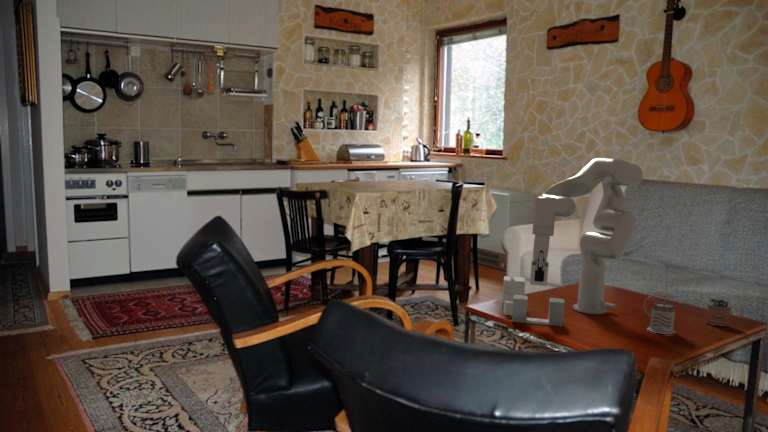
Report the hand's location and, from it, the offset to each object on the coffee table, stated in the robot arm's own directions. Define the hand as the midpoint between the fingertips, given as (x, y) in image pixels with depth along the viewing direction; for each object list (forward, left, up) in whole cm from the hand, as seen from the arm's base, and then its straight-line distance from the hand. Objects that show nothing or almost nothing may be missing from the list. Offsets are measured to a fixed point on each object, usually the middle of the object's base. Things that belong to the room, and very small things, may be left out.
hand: (538, 279), depth 235 cm
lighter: (-67, -20, -16) cm, 72 cm away
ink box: (+9, -18, -16) cm, 26 cm away
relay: (+10, -7, -16) cm, 20 cm away
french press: (-43, -4, -16) cm, 46 cm away
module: (0, 0, -2) cm, 2 cm away
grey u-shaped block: (0, +1, -16) cm, 16 cm away
